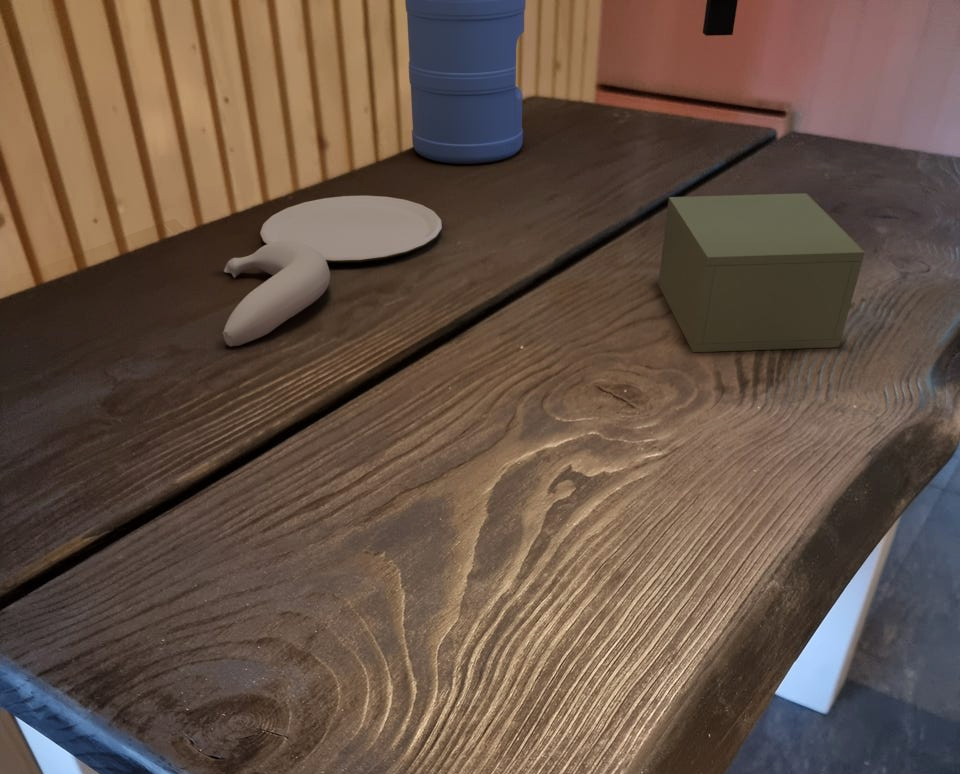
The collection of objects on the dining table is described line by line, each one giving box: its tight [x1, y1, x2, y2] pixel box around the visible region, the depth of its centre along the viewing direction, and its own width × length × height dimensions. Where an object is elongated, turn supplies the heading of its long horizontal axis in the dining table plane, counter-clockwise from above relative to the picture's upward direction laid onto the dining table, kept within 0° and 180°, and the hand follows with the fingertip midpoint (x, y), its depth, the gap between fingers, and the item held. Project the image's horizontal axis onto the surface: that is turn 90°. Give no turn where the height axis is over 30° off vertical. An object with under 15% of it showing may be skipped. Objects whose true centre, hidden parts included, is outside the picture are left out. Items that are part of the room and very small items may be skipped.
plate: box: [259, 195, 443, 264], centre depth 106 cm, size 21×21×1 cm
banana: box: [221, 241, 331, 348], centre depth 91 cm, size 5×19×15 cm
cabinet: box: [657, 192, 865, 353], centre depth 87 cm, size 16×14×9 cm
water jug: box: [404, 0, 527, 165], centre depth 122 cm, size 16×16×28 cm
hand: (717, 33), depth 94 cm, fingers closed
